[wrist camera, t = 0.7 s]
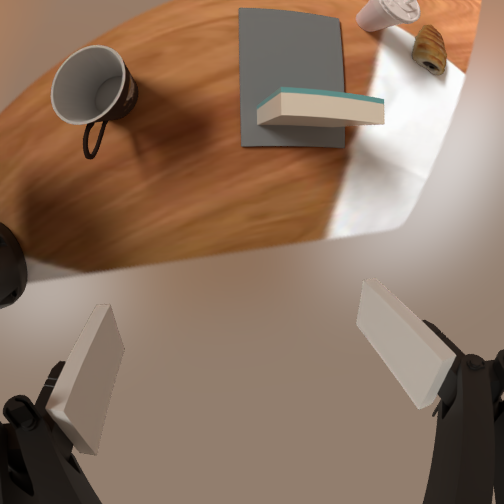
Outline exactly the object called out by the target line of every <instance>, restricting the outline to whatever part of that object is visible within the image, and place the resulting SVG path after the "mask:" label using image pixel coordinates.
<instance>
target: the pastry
mask: <svg viewBox="0 0 504 504" xmlns="http://www.w3.org/2000/svg"><path fill="white" fill-rule="evenodd" d="M412 56H413V59H414V61H416V63H417V64H419V65H420V66H422V67H424V68H426V69H428V70H429V71H430V72H431V73H432V74H434V75H441V74H443V72H444V71H445V69H444V68H445V66H446V58H447V54H446V51H445V47H444V42H443V39H442V36H441V34H440V33H439V32H438V31H437V30H436V29H435V28H434V27H433V26H432V25H424V26H423V28H422V29H421V30H420V31H419V33H418V35H417V36H416V37H415V43H414V46H413V52H412Z"/></svg>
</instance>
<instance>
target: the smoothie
mask: <svg viewBox="0 0 504 504" xmlns="http://www.w3.org/2000/svg"><path fill="white" fill-rule="evenodd" d="M419 17H420V7H419V5H418V2H417V1H416V0H370V1H369V2H368V3H367V4H366V5H365V6H364V7H363V8H362V9H361V11H360V12H359V13H358V14H357V15H356V21H357V23H358V25H359V26H360V27H361V28H362V29H363V30H365V31H368V32H373V31H377V30H380V29H383V28H387V27H390V26H394V25H398V24H402V23H405V24H410V23H413V22H415V21H417V20H418V19H419Z"/></svg>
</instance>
